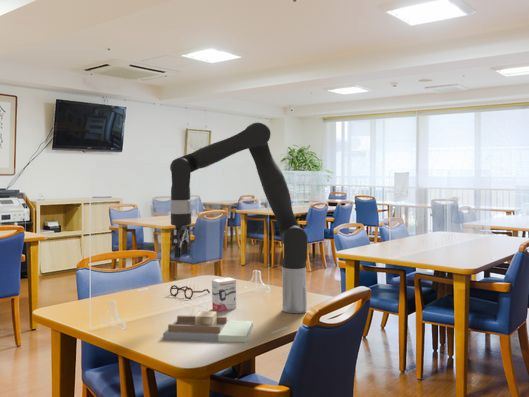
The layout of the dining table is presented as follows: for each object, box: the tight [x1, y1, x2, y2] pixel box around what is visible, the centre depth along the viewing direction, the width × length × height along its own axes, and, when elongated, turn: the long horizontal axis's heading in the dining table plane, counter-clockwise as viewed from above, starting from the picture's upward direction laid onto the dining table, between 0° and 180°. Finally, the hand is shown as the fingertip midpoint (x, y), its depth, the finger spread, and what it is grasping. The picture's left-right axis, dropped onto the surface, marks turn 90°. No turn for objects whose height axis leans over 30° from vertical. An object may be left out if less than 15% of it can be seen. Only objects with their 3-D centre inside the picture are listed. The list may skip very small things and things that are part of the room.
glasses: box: [169, 284, 211, 299], centre depth 229 cm, size 13×13×5 cm
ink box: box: [211, 277, 237, 312], centre depth 205 cm, size 8×5×12 cm, turn 123°
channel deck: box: [162, 314, 254, 343], centre depth 175 cm, size 28×16×4 cm, turn 83°
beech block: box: [194, 310, 218, 326], centre depth 175 cm, size 6×6×4 cm
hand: (181, 255), depth 191 cm, fingers open, 8 cm apart
